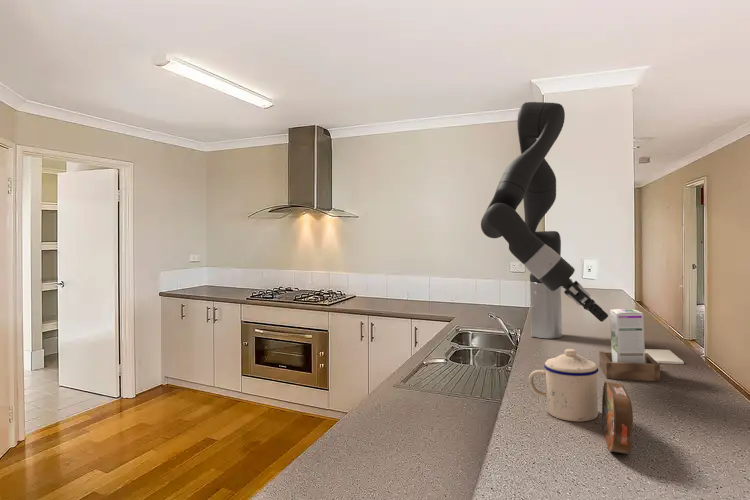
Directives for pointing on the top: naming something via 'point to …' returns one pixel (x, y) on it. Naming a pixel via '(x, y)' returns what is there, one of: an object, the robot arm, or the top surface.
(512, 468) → the top surface
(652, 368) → the walnut collar
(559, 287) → the robot arm
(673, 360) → the cream board
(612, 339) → the syrup box
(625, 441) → the tin
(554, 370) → the teacup with lid
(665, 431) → the top surface
